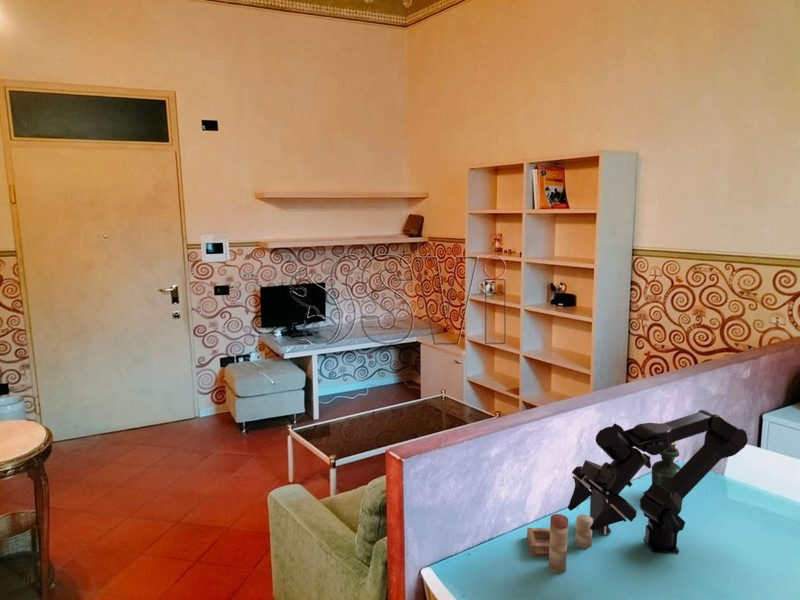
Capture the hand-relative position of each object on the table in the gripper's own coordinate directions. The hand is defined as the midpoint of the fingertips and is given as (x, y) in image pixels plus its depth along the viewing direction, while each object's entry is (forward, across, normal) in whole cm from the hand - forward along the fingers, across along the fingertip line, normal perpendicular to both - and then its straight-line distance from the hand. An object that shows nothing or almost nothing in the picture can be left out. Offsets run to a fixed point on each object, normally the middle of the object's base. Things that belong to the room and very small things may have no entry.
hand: (579, 519), depth 139 cm
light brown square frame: (+11, -8, +6) cm, 15 cm away
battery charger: (-2, -11, +19) cm, 22 cm away
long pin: (+12, 0, +4) cm, 13 cm away
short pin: (+4, -7, +13) cm, 15 cm away
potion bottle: (-21, -18, +37) cm, 47 cm away
